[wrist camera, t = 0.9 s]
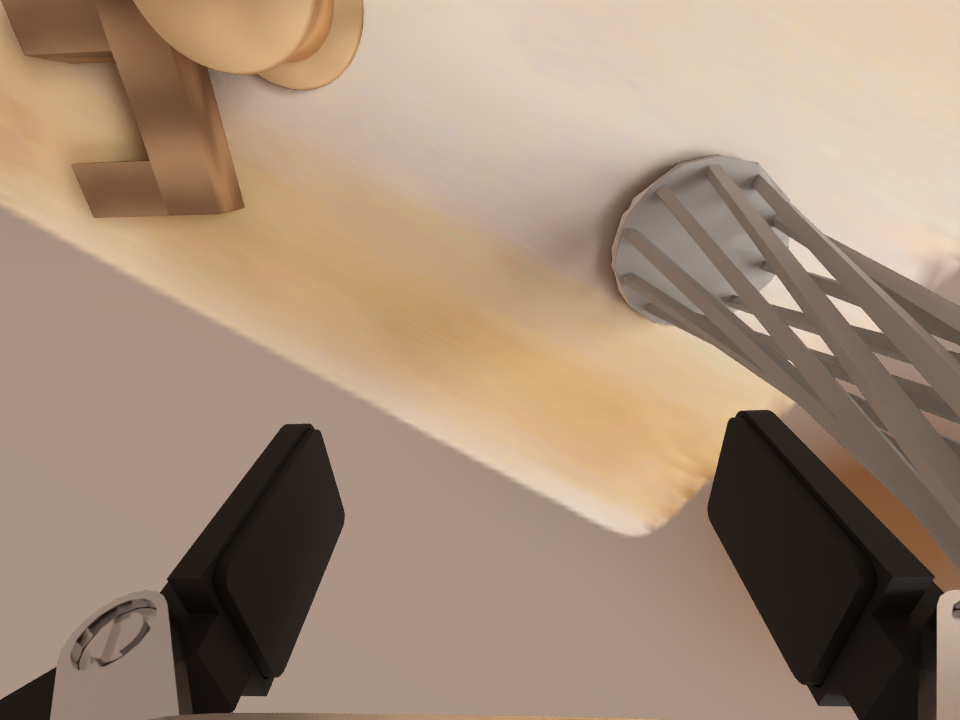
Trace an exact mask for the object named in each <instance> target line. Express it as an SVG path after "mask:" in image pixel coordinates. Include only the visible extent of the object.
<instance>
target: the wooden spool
mask: <svg viewBox="0 0 960 720" xmlns="http://www.w3.org/2000/svg"><path fill="white" fill-rule="evenodd" d="M133 1H134V3H135V5H136V6H137V8H138V9H139V11H140V12H141V13H142V15H143V16H144V18H145V19H146V20H147V21H148V23H149V24H150V25H151V26H152V27H153V29H154V30H155V31H156V32H157V33H158V34H159V35H160V36H161V37H162V38H163V39H164V40H165V41H166V42H167V43H168V44H170V45H171V46H172V47H173V48H175V49H176V50H177V51H178V52H180V53H181V54H183V55H184V56H186V57H188V58H189V59H191V60H193V61H195V62H197V63H199V64H201V65H203V66H206V67H209V68H212V69H215V70H218V71H222V72H227V73H232V74H237V75H252V74H257V75H259V76H260V77H262V78H263V79H265V80H267V81H269V82H271V83H274V84H277V85H280V86H283V87H287V88H291V89H297V90H310V89H316V88H319V87H323V86H325V85H327V84H329V83H331V82H332V81H334V80H335V79H337V78H338V77H339V76H340V75H341V74H342V73H343V72H344V71H345V70H346V69H347V67H348V66H349V65H350V63H351V61H352V59H353V58H354V56H355V54H356V51H357V49H358V46H359V43H360V39H361V35H362V28H363V12H364V11H363V0H133Z"/></svg>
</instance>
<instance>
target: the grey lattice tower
mask: <svg viewBox="0 0 960 720" xmlns="http://www.w3.org/2000/svg"><path fill="white" fill-rule="evenodd" d="M789 237H791V238H792V239H794V240H795V241H797V242H799V243H800V244H802V245H803V246H805V247H806V248H808V249H809V250H810V251H811V252H812V253H813V254H814V256H815V257H816V258H817V259H818V260H819V261H820V262H821V263H822V265H823V266H824V267H825V268H826V269H827V270H828V271H829V272H830V273H831V275H832V276H833V277H834V278H835V279H836V280H837V281H836V280H833V279H829V278H826V277H823V276H819V275H816V274H813V273H810V272H806V270H805V269H804V268H803V267H802V265H801V264H800V263H799V262H798V260H797V259H796V258H795V257H794V256H793V254H792V253H791V252H790V251H789V249H788V248H789ZM611 252H612V259H613V260H612V263H611V266H612V269H613V271H614V273H615V276H616V281H617V285H618V290H619V292H620V293H621V295H622V296H623V298H624V299H625V300H626V302H627V303H628V305H629V306H630V307H632V308H633V309H635V310H636V311H638V312H639V313H640V314H642V315H643V316H645V317H646V318H648V319H649V320H651V321H652V322H654V323H660V324H666V325H672V326H676V327H678V328H680V329H682V330H684V331H686V332H688V333H690V334H692V335H694V336H696V337H698V338H700V339H702V340H704V341H706V342H708V343H710V344H712V345H714V346H715V347H717V348H718V349H720V350H721V351H723V352H724V353H725V354H727V355H728V356H730V357H731V358H733V359H734V360H736V361H737V362H739V363H740V364H741V365H743V366H744V367H746V368H747V369H749V370H750V371H752V372H753V373H754V374H756V375H757V376H759V377H760V378H762V379H763V380H765V381H766V382H768V383H769V384H770V385H772V386H773V387H775V388H776V389H778V390H779V391H781V392H782V393H783V394H785V395H786V396H788V397H789V398H791V399H792V400H794V401H795V402H797V403H798V404H799V405H800V406H801V407H802V408H803V409H804V410H805V411H806V412H807V413H808V414H809V415H810V416H811V417H812V418H813V419H814V420H815V421H816V422H817V423H818V424H820V425H821V426H822V427H823V428H824V429H825V430H826V431H827V432H828V433H829V434H830V435H831V436H832V437H833V438H834V439H835V440H836V441H837V442H838V443H839V444H840V445H841V446H842V447H843V448H845V449H846V450H847V451H848V452H849V453H850V454H851V455H852V456H853V457H854V458H855V459H856V460H857V461H858V462H859V463H860V464H861V465H862V466H863V467H864V468H865V469H867V471H869V472H870V473H871V474H872V475H873V476H874V477H875V478H876V479H877V480H878V481H879V482H880V483H881V484H882V485H883V486H884V487H885V488H886V489H887V490H888V491H889V492H890V493H892V494H893V495H894V496H895V497H896V498H897V499H898V500H899V501H900V502H901V503H902V504H903V505H904V506H905V507H906V508H907V509H908V510H909V511H910V512H912V514H913V515H914V516H915V517H916V518H917V519H918V520H919V522H920V523H921V524H922V526H923V527H924V528H925V529H926V531H927V532H928V533H929V534H930V536H931V537H932V538H933V539H934V541H935V542H936V543H937V544H938V546H939V547H940V548H941V549H942V551H943V552H944V553H945V554H946V555H947V557H948V558H949V559H950V561H951V562H952V563H953V564H954V566H955V567H956V568H957V569H958V571H959V572H960V442H958V441H955V440H953V439H951V438H949V437H946V436H944V435H941V434H940V433H938V432H937V431H936V430H935V429H934V428H933V426H932V425H931V424H930V422H929V421H928V420H927V419H926V418H925V416H923V414H922V413H921V411H920V410H919V409H921V410H924V411H926V412H929V413H932V414H934V415H937V416H940V417H942V418H945V419H948V420H950V421H953V422H956V423H958V424H960V353H956V352H952V351H948V350H946V349H945V348H944V347H943V346H942V345H941V344H940V343H939V342H938V341H937V340H936V339H935V338H934V337H932V336H931V335H930V334H932V335H935V336H937V337H940V338H943V339H945V340H948V341H951V342H953V343H956V344H958V345H959V346H960V306H959V305H957V304H955V303H953V302H951V301H949V300H947V299H945V298H943V297H941V296H940V295H938V294H936V293H934V292H932V291H930V290H929V289H927V288H925V287H923V286H921V285H919V284H917V283H915V282H913V281H912V280H910V279H908V278H906V277H904V276H902V275H900V274H898V273H896V272H895V271H893V270H891V269H889V268H887V267H885V266H883V265H881V264H879V263H878V262H876V261H874V260H872V259H870V258H868V257H866V256H864V255H862V254H861V253H859V252H857V251H855V250H853V249H851V248H849V247H847V246H845V245H844V244H842V243H840V242H838V241H836V240H834V239H832V238H830V237H828V236H827V235H825V234H823V233H822V232H821V231H820V230H819V229H818V228H817V227H816V226H815V225H814V224H813V223H811V222H810V221H809V220H808V219H807V218H806V217H805V216H804V215H803V214H802V213H801V212H800V211H799V210H798V209H797V208H796V207H794V206H793V205H792V204H791V203H790V199H789V198H788V197H787V196H786V195H785V194H784V192H783V191H782V190H781V189H780V188H779V187H778V186H777V184H776V183H775V182H774V181H773V180H772V179H771V177H770V176H769V175H768V174H767V173H766V172H765V171H764V169H763V168H762V167H761V166H760V165H759V164H758V163H757V162H751V161H746V160H741V159H736V158H731V157H726V156H720V155H711V156H707V157H703V158H698V159H694V160H690V161H686V162H682V163H679V164H677V165H676V166H675V167H673V168H672V169H671V170H670V171H668V172H667V173H666V174H664V175H663V176H662V177H660V178H659V179H658V180H657V181H655V182H654V183H653V184H651V185H650V186H649V187H647V188H646V189H645V190H644V191H642V192H641V193H640V194H638V195H637V196H636V197H635V198H633V200H632V203H631V205H630V208H629V209H628V210H627V211H626V212H625V213H624V214H623V215H622V217H621V220H620V224H619V227H618V230H617V233H616V236H615V239H614V242H613V245H612V248H611ZM774 274H775V275H777V276H778V278H779V279H780V280H781V282H782V283H783V285H784V286H785V287H786V289H787V290H788V292H789V293H790V294H791V296H792V297H793V298H794V300H795V301H796V303H797V304H798V305H799V307H800V308H801V310H802V311H803V312H804V313H802V312H798V311H794V310H790V309H786V308H782V307H779V306H775V305H771V304H769V303H768V302H767V301H766V300H765V299H764V298H763V296H762V295H761V294H760V293H759V292H760V291H761V290H762V289H763V288H764V287H765V286H766V285H767V284H768V283H769V282H770V281H771V280H772V278H773V276H774ZM824 293H825V294H827V295H830V296H833V297H835V298H838V299H840V300H843V301H846V302H848V303H851V304H853V305H856V306H859V307H861V308H862V309H863V310H864V311H865V313H866V314H867V315H868V316H869V317H870V318H871V319H872V320H873V321H874V323H875V324H876V325H877V326H878V327H879V328H880V329H881V330H882V332H883V333H884V334H883V333H879V332H875V331H871V330H867V329H863V328H860V327H856V326H852V325H850V324H849V323H848V322H847V321H846V319H845V318H844V317H843V316H842V314H841V313H840V312H839V311H838V310H837V308H836V307H835V306H834V305H833V303H832V302H831V301H830V300H829V299H828V297H827V296H826V295H825V294H824ZM736 310H741V311H744V312H747V313H750V314H753V315H755V317H756V318H757V319H758V320H759V322H760V323H761V324H762V325H763V327H764V328H765V329H766V330H767V332H768V333H769V334H770V335H771V336H768V335H765V334H762V333H759V332H756V331H753V330H752V329H751V328H750V327H749V326H747V325H746V324H745V323H744V322H743V321H742V320H741V319H739V318H738V317H737V316H736V315H735V314H734V313H732V312H734V311H736ZM788 325H789V326H792V327H795V328H798V329H801V330H804V331H808V332H811V333H814V334H817V335H820V336H821V337H822V339H823V340H824V342H825V343H826V344H827V346H828V347H829V349H830V350H831V351H832V353H833V354H834V356H831V355H828V354H825V353H822V352H819V351H816V350H813V349H809V348H807V347H806V346H805V344H804V343H803V342H802V341H801V340H800V339H799V338H798V336H797V335H796V334H795V333H794V332H793V331H792V330H791V329H790V327H789V326H788ZM929 333H930V334H929ZM872 352H875V353H878V354H881V355H884V356H888V357H891V358H894V359H897V360H900V361H903V362H907V363H910V364H912V365H913V366H914V367H915V368H916V370H917V371H918V372H919V373H920V374H921V375H922V376H923V377H924V378H925V380H926V381H927V382H928V383H929V384H930V385H931V386H932V387H929V386H926V385H923V384H920V383H917V382H914V381H910V380H907V379H904V378H901V377H898V376H895V375H892V374H890V373H889V372H888V371H887V370H886V368H885V367H884V366H883V365H882V364H881V362H880V361H879V360H878V359H877V357H876V356H875V355H874V354H873V353H872ZM786 359H787V360H786ZM788 360H790V361H791V362H792V363H793V364H794V365H795V366H793V365H792V364H791V363H790V362H789V361H788ZM834 377H835V378H838V379H840V380H843V381H846V382H849V383H852V384H854V385H856V386H857V388H858V389H859V390H860V392H861V393H862V395H863V396H864V397H865V399H866V400H867V401H866V400H864V399H861V398H859V397H857V396H855V395H853V394H851V393H848V392H846V391H845V390H844V389H843V387H842V386H841V385H840V384H839V383H838V382H837V381H836V380H835V378H834ZM878 427H879V428H881V429H883V430H885V431H887V432H889V433H890V434H891V435H892V436H893V438H892V437H891V436H889V435H887V434H886V433H884V432H883V431H881V430H880V429H879V428H878Z"/></svg>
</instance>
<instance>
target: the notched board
mask: <svg viewBox="0 0 960 720" xmlns="http://www.w3.org/2000/svg"><path fill="white" fill-rule="evenodd" d="M1 1H2V4H3V6H4V8H5V11H6V13H7V15H8V18H9V20H10V22H11V25H12V27H13V30H14V32H15V34H16V37H17V39H18V41H19V44H20V46H21V48H22V51H23V53H24V55H26V56H31V57H37V58H43V59H48V60H54V61H59V62H65V63H70V64H78V63H98V62H116V65H117V68H118V71H119V74H120V77H121V80H122V82H123V85H124V88H125V91H126V94H127V97H128V100H129V103H130V105H131V108H132V111H133V114H134V117H135V120H136V123H137V125H138V128H139V131H140V134H141V137H142V140H143V143H144V145H145V148H146V151H147V154H148V157H149V160H147V161H120V162H98V163H79V164H71V165H72V168H73V170H74V172H75V175H76V177H77V179H78V182H79V184H80V186H81V189H82V191H83V193H84V196H85V198H86V201H87V203H88V205H89V208H90V210H91V212H92V215H93V217H94V218H102V217H136V216H171V215H205V214H222V213H226V212H230V211H234V210H237V209H241V208H245V207H244V203H243V200H242V196H241V192H240V188H239V185H238V181H237V177H236V174H235V170H234V166H233V163H232V159H231V155H230V151H229V148H228V144H227V140H226V137H225V133H224V129H223V125H222V122H221V118H220V114H219V111H218V107H217V103H216V100H215V96H214V92H213V88H212V85H211V81H210V77H209V74H208V70H207V67H206V66H203V65H201V64H199V63H197V62H195V61H193V60H191V59H189V58H188V57H186V56H184V55H183V54H181V53H180V52H178V51H177V50H176V49H175V48H173V47H172V46H171V45H170V44H168V43H167V42H166V41H165V40H164V39H163V38H162V37H161V36H160V35H159V34H158V33H157V32H156V31H155V30H154V29H153V27H152V26H151V25H150V24H149V23H148V21H147V20H146V19H145V18H144V16H143V15H142V13H141V12H140V11H139V9H138V8H137V6H136V5H135V3H134V1H133V0H1Z"/></svg>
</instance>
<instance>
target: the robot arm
mask: <svg viewBox="0 0 960 720" xmlns="http://www.w3.org/2000/svg"><path fill="white" fill-rule="evenodd" d="M708 516H709V520H710V522H711V524H712V526H713V528H714V530H715V531H716V533H717V535H718V537H719V539H720V541H721V542H722V544H723V546H724V548H725V550H726V552H727V554H728V555H729V557H730V559H731V561H732V563H733V565H734V566H735V568H736V570H737V572H738V574H739V576H740V578H741V579H742V581H743V583H744V585H745V587H746V589H747V590H748V592H749V594H750V596H751V598H752V600H753V601H754V603H755V605H756V607H757V609H758V611H759V613H760V614H761V616H762V618H763V620H764V622H765V624H766V626H767V627H768V629H769V631H770V633H771V635H772V636H773V638H774V640H775V642H776V644H777V646H778V648H779V650H780V651H781V653H782V655H783V657H784V659H785V661H786V662H787V664H788V666H789V668H790V670H791V672H792V673H793V675H794V676H795V678H796V679H797V680H798V681H799V682H800V683H801V684H803V685H807V686H808V688H809V690H810V691H811V693H812V695H813V697H814V699H815V700H816V702H817V704H818V705H819V706H851V707H852V709H853V711H854V712H855V714H856V716H857V717H858V719H859V720H960V590H951V591H948V592H946V593H944V592H943V591H942V590H941V589H940V588H939V587H938V586H937V585H936V584H935V583H934V582H933V579H934V578H935V576H934V575H933V574H932V573H931V572H930V571H929V570H928V569H927V568H926V567H925V566H924V565H923V564H922V563H921V562H920V561H919V560H918V559H917V558H916V557H915V556H914V555H913V554H912V553H911V552H910V551H909V550H908V549H907V548H906V547H905V546H904V545H903V544H902V543H901V542H900V541H899V540H898V539H897V538H896V537H895V535H893V533H892V532H891V531H889V529H888V528H887V527H885V525H884V524H883V523H882V522H881V521H880V520H879V519H878V518H877V517H876V516H875V515H874V514H873V513H872V512H871V511H870V510H869V509H868V508H867V507H866V506H865V505H864V504H863V503H862V502H861V501H860V500H859V499H858V498H857V497H856V496H855V495H854V494H853V493H852V492H851V491H850V490H849V489H848V488H847V487H846V486H845V485H844V484H843V483H842V482H841V481H840V480H839V479H838V478H837V477H836V476H835V475H834V474H833V473H832V472H831V471H830V470H829V469H828V467H826V466H825V464H824V463H823V462H822V461H821V460H820V459H819V458H818V457H817V456H816V455H815V454H814V453H813V452H812V451H811V450H810V449H809V448H808V447H807V446H806V445H805V444H804V443H803V442H802V441H801V440H800V439H799V438H798V437H797V436H796V435H795V434H794V433H793V432H792V431H791V430H790V429H789V428H788V427H787V426H786V425H785V424H784V423H783V422H782V421H781V420H780V419H779V418H778V417H777V416H776V415H775V414H774V413H773V412H772V411H769V410H751V411H740V412H738V413H737V415H736V417H735V418H730V420H729V421H728V424H727V428H726V432H725V436H724V440H723V444H722V449H721V453H720V457H719V461H718V465H717V469H716V473H715V477H714V482H713V486H712V490H711V494H710V498H709V502H708ZM344 517H345V514H344V509H343V505H342V502H341V498H340V495H339V492H338V488H337V485H336V482H335V478H334V475H333V471H332V468H331V465H330V461H329V458H328V454H327V451H326V448H325V444H324V441H323V438H322V434H321V432H320V431H319V430H314V427H313V426H312V425H311V424H286V425H284V426H283V427H282V428H281V429H280V430H279V432H278V433H277V434H276V436H275V437H274V438H273V440H272V441H271V442H270V443H269V445H268V446H267V448H266V449H265V450H264V452H263V453H262V454H261V455H260V457H259V458H258V459H257V461H256V462H255V463H254V465H253V466H252V467H251V469H250V470H249V471H248V472H247V474H246V475H245V476H244V478H243V479H242V480H241V482H240V483H239V484H238V486H237V487H236V488H235V490H234V491H233V492H232V494H231V495H230V496H229V498H228V499H227V500H226V502H225V503H224V504H223V505H222V507H221V508H220V510H219V511H218V512H217V513H216V515H215V516H214V517H213V519H212V520H211V521H210V523H209V524H208V525H207V527H206V528H205V529H204V531H203V532H202V533H201V535H200V536H199V537H198V538H197V540H196V541H195V542H194V544H193V545H192V546H191V548H190V549H189V550H188V552H187V553H186V554H185V556H184V557H183V558H182V560H181V561H180V562H179V564H178V565H177V566H176V568H175V569H174V570H173V572H172V573H171V574H170V575H169V577H168V578H167V580H168V583H167V584H166V585H165V587H164V588H163V590H162V591H161V592H160V593H158V592H156V591H148V590H144V591H139V592H134V593H130V594H128V595H125V596H123V597H121V598H118V599H115V600H114V601H112V602H110V603H109V604H107V605H105V606H104V607H102V608H100V609H99V610H98V611H96V612H95V613H94V614H93V615H91V616H90V617H89V618H88V619H86V620H85V621H84V622H83V623H82V624H81V625H80V626H79V627H78V628H77V629H76V631H74V633H73V634H72V635H71V636H70V638H69V639H68V641H67V642H66V644H65V646H64V647H63V648H62V650H61V653H60V656H59V659H58V663H57V667H55V668H54V669H52V670H50V671H49V672H47V673H45V674H43V675H42V676H40V677H39V678H37V679H35V680H33V681H32V682H30V683H28V684H26V685H25V686H23V687H21V688H20V689H18V690H16V691H15V692H13V693H11V694H9V695H8V696H6V697H4V698H3V699H1V700H0V720H665V719H627V718H581V717H579V718H578V717H576V718H575V717H532V716H480V715H421V714H416V715H415V714H352V713H233V711H234V710H235V708H236V706H237V703H238V701H239V699H240V697H241V696H267V694H268V692H269V689H270V687H271V684H272V682H273V679H274V677H279V676H280V675H281V674H282V673H283V672H284V669H285V667H286V665H287V663H288V660H289V658H290V655H291V653H292V651H293V648H294V646H295V643H296V640H297V638H298V636H299V633H300V631H301V628H302V626H303V624H304V621H305V619H306V616H307V614H308V611H309V609H310V606H311V604H312V601H313V599H314V597H315V594H316V591H317V589H318V587H319V584H320V582H321V579H322V577H323V574H324V572H325V570H326V567H327V565H328V562H329V560H330V557H331V555H332V552H333V550H334V547H335V545H336V543H337V540H338V537H339V535H340V533H341V530H342V528H343V525H344ZM666 720H668V719H666Z"/></svg>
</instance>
